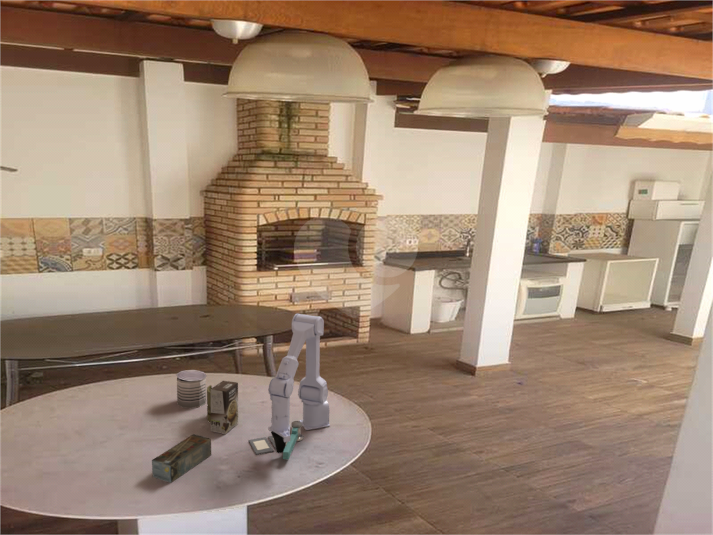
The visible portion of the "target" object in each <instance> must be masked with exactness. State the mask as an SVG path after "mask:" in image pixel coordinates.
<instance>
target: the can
mask: <svg viewBox="0 0 713 535" xmlns="http://www.w3.org/2000/svg"><path fill="white" fill-rule="evenodd" d="M175 376H176V392H177V394H176V395H177V396H176V398H177V401H176V402H177V406H178V405H179V406H178V407H180V408H181V407H183V408H182V409H189V408H191V409H196V408H195V407H197V408H200V406H201V407H202V406H204V405H205V404H207V377H208V375H207V374H206V373H205V372H204V371H202V370H196V369H187V370H181V371H179V372H178V373H176V374H175Z"/></svg>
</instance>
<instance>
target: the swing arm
mask: <svg viewBox="0 0 713 535" xmlns="http://www.w3.org/2000/svg"><path fill="white" fill-rule="evenodd" d="M290 427H291V428H292V429H291V433H290V435H291V436H290V442H287V444H286V447H285V449H284V451H283V452H282V459H283V460H289V459H290V457H291V455H292V452H293V450H294V448H295V446H296V443H297V442H296V441H297V438H298V428H300V427H301V428H302V427H303V426H302V422H300V421H299V420H295V421H292V422H291V424H290Z"/></svg>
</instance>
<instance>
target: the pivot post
mask: <svg viewBox="0 0 713 535" xmlns="http://www.w3.org/2000/svg"><path fill="white" fill-rule="evenodd" d="M301 428H302V427H300V428H298V438H297V441H296V443H298V442H302V441H303V440H305V439H304V438H305V436H304V435H303V434H301ZM290 436H291V434H290Z"/></svg>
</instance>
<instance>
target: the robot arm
mask: <svg viewBox="0 0 713 535" xmlns="http://www.w3.org/2000/svg"><path fill="white" fill-rule="evenodd" d="M324 326H325V322H324V318H323V316H317V315H310V314H302V313H295V314H294V315H293V317H292V319H291V332H292V336H291V339H290V340H291V341H290V344H289V347H288V352H287V353H286V354H287V355H286V356H284V357H282V358H281V361H280V363H279V366H278V369H277V372H276V374H275V377H274V378H272V379H271V380H270V382H269V385H268V394H269V400H270V401H271V420H270V421H271V426H268V427H267V429H268V431H269V432H270V434H271V436H273V438H274V441H275V446H276V449H275V450H276V453H277V454H283V451H284V449H285V445H286V442H290V435H291V433H290V431H291V424H290V410H291V409H290V408H291V407H290V406H291V405H290V403H291V402H290V401H291V395H292V394H293V391H294V386H295V385H294V384H295V380H294V378H295V376H296V372H297V370H298V369H299V368H298V367H299V365H300V364H299V361H298V358H299V355H300V353H301V351H302V349H303V348H304V345H305V376H304V377H302V379H301V380H300V381H299V384H298V385H299V386H298V390H297V395H298V398H299V400H301V403H302V419H299V420H298V421H300V422H302V427H303V428H304V430H305V431H309V430H311V431H312V430H315V429H321V428H327V427H330V426H331V424H330V404H329V402H328V400H327V399H328V395H329V389H328V384H327V381H326V380H325V378H323V377H321V375H320V366H321V365H320V363H321V362H320V361H321V360H320V359H321V358H320V356H321V354H320V353H321V352H320V350H321V347H320V346H321V345H320V344H321V342H320V341H321V336H324V332H325V331H324V330H325V328H324Z"/></svg>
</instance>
